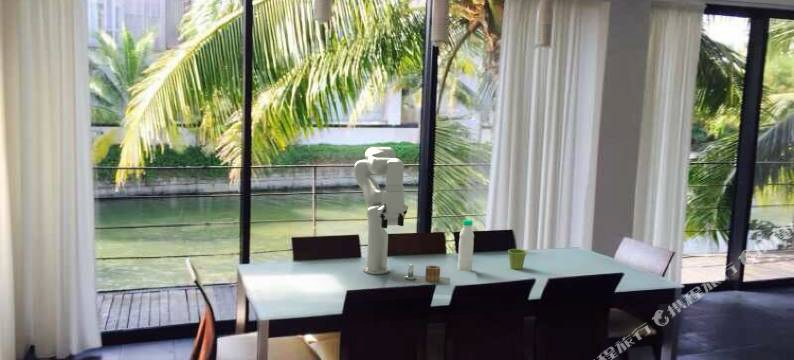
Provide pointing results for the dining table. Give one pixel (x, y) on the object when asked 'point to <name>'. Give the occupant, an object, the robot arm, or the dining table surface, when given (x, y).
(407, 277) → the steel posts
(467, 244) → the water bottle
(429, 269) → the sleeve
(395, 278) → the post board
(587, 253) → the dining table surface
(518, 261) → the plant pot
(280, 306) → the dining table surface
